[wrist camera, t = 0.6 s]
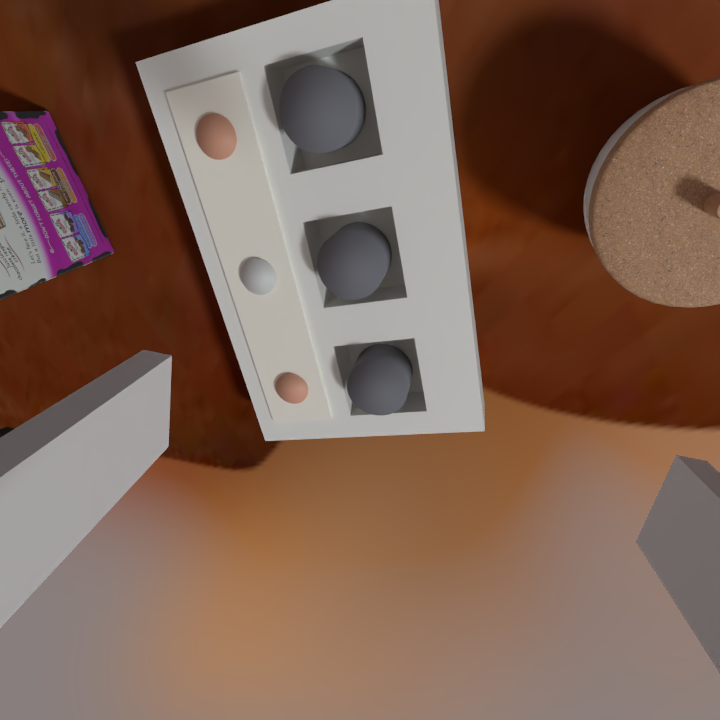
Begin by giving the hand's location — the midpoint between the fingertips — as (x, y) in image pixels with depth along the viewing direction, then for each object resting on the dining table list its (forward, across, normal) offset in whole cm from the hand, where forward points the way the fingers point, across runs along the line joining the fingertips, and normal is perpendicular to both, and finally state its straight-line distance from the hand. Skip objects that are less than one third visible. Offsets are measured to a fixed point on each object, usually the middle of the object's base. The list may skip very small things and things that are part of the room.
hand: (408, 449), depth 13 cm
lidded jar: (+22, +14, +9) cm, 28 cm away
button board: (+25, -5, +1) cm, 26 cm away
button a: (+22, -7, +10) cm, 25 cm away
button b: (+22, -4, +1) cm, 23 cm away
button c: (+23, -1, -7) cm, 24 cm away
